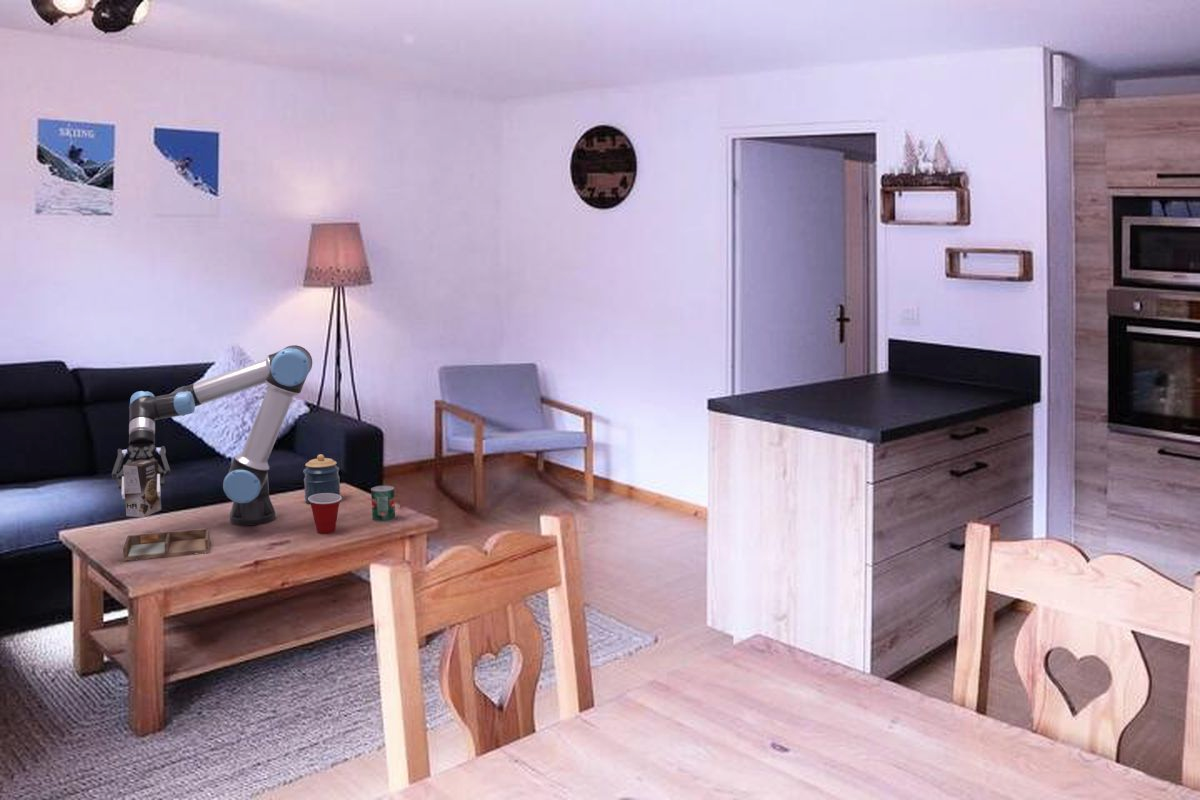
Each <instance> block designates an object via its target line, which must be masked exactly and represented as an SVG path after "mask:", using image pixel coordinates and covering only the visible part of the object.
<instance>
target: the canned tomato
mask: <svg viewBox="0 0 1200 800" xmlns="http://www.w3.org/2000/svg"><path fill="white" fill-rule="evenodd" d="M370 492H371V493H370V494H371V512H372V514H371V516H372V521H373V522H377V523H387V522H392V521H394V520H395V519H396V508H395V507H396V506H395V505H396V504H395V503H396V502H395V487H394V486H393V485H392V486H391V485H376V486H374V487H371V488H370Z"/></svg>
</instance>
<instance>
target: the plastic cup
mask: <svg viewBox="0 0 1200 800" xmlns="http://www.w3.org/2000/svg"><path fill="white" fill-rule="evenodd" d="M340 495H341V494H340ZM340 495H338V494H333V493H320V494H314V495H311V496H310V497H308V500H309V502H310V504H309V505H310V508H311V510H312V515H313V521H314V523H315V527H316V531H317V534H320V535H321V534H322V535H324V534H325V535H328V534H332V533H334V532H336V527H337V520H338V514H339V513H338V512H339V507H340V502H341V501H342V498H343V497H342V496H340Z"/></svg>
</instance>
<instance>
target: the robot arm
mask: <svg viewBox="0 0 1200 800" xmlns="http://www.w3.org/2000/svg"><path fill="white" fill-rule="evenodd" d="M312 368H313V358H312V356H311V353H310V352H309V351H308V350H307V349H306V348H305V347H303V346H300V345H297V344H296V345H295V344H294V345H288V346H286V347H284V348H283V349H280V350H278V351H276V352H274V353H272V354H271V353H270V354H268V355H267V356H266V358H265V359H263V360H260V361H257V362H254V363H253V362H252V363H251V364H248V365H245V366H242V367H239V368H236V369H233V370H230V371H227V372H224V373H221V374H217V375H216V376H215V375H214V376H212V377H210V378H206V379H203V380H199V381H198V382H195V383H192V384H187V385H186V386H185V385H184V386H181V387H178V388H176V389H175V390H174V391H173V392H171V393H168V394H163V395H157V396H155V395H154V394H153V392H150V391H143V390H140V391H136V392H134V393H133V394H132V395H131V397H130V400H129V406H128V409H129V424H128V434H129V436H128V446H127V448H126V449H122V448H118V449H117V458H116V460H115V462H114V465H113V469H112V472H111V477H112V480H117V486H118V489H119V490H121V497H122V498H121V499H122V500H125V487H124V471H123V467H122V466H123V465H122V464H123V462H124V461H123V460H124V458H126V456H127V455H128V459H127V461H126V462H125V464H124V465H126V464H129V463H132V462H135V461H138V460H156V459H155V457H154V455H155V454H156V453H158V455H159V456H160V458H161V461H162V464H163V468H164V470H163V468H162V466H161V465H160V464H159V463H158V469H157V470H158V472H159V474H157V494H158V496H160V497H161V487H162V486H165V479H166V476H169V477H170V476H171V474H172V472H171V468H170V465H169V463H168V459H167V456H166V452H167V451H166V447H165V446H164V445H162V446H160V447H157V446H156V435H155V434H156V420H163V419H167V418H174V417H181V416H182V417H184V416H186V415H190V414H193V413H195V410H196V407H198V406H201V405H204V404H206V403H209V402H212V401H216V400H218V399H222V398H224V397H228V396H231V395H234V394H237V393H241V392H244V391H246V390H249V389H251V388H255V387H258V386H261V385H263V384H266V385H267V390H266V392H265V395H264V396H263V400H262V401H261V405H260V407H259V409H258V412H257V414H256V417H255V418H254V422H253V424H252V426H251V429H250V432H249V435H248V437H247V439H246V441H245V443H244V446H243V448H242V451H241V452H240V453H239V454H236V455H234V456H232V457H231V462H230V468H229V470H228V473H227V474H226V476H224V479H223V481H222V482H223V483H222V489H223V492H224V494H225V496H226V497H227V498H228V499H229V500H230V501H232V506H231V510H230V513H229V523H230V524H232V525H235V526H243V527H244V526H245V527H247V526H257V525H264V524H267V523H270V522H273V521H274V520H276V519H277V518H276V516H277V515H276V510H275V508H274V505H273V502H272V500H271V498H270V489H269V486H270V485H269V474H268V473H269V470H270V466H269V462H268V461H269V458H270V457H271V453H272V452H273V451H272V450H273V448H274V445H275V443H276V441H277V438H278V436H279V433H280V431H281V429H282V426H283V424H284V421H285V419H286V416H287V414H288V411H289V409H290V406H291V404H292V402H293V399H294V397H295V396H298V395H300V394H301V392H302V390H303V387H304V385H305V382H306V379H308V375H309V374H310V372H311V370H312ZM121 467H122V468H121Z"/></svg>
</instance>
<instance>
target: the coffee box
mask: <svg viewBox="0 0 1200 800" xmlns="http://www.w3.org/2000/svg"><path fill="white" fill-rule="evenodd" d="M125 464H126V463H125ZM125 464H123V465H122V468H123V471H124V487H125V499H124V500H125V514H126V517H137V518H138V517H139V518H145V517H148V516H150V515H152V514H155V513H157V512H159V511H162V501H161V499H162V498H161V496H158V494H157V474H159V472H158V470H157V469H158V464H159V460H158V459H155V460H138V461H135V462H132V463H129V464H126V465H125Z"/></svg>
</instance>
